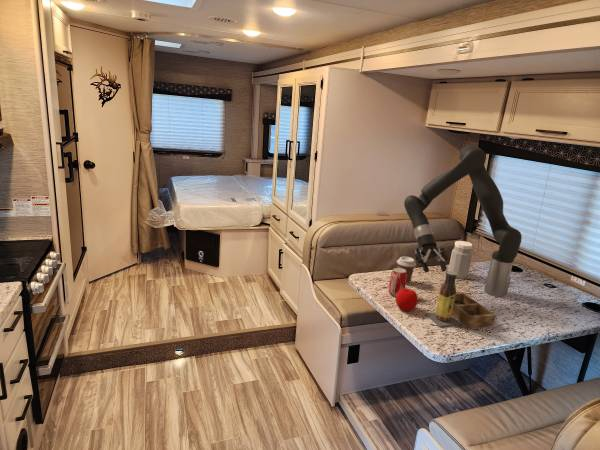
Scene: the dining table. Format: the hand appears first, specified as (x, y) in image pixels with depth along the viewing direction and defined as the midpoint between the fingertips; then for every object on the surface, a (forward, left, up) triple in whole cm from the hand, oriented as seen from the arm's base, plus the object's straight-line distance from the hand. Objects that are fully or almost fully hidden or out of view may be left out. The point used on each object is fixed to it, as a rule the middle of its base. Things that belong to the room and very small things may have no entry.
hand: (435, 271), depth 166 cm
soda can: (+9, -13, -17) cm, 23 cm away
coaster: (+1, +11, -16) cm, 20 cm away
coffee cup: (-2, -25, -17) cm, 30 cm away
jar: (-36, -28, -17) cm, 49 cm away
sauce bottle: (+1, +11, -16) cm, 19 cm away
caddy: (-11, +9, -16) cm, 22 cm away
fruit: (+12, 0, -17) cm, 21 cm away
